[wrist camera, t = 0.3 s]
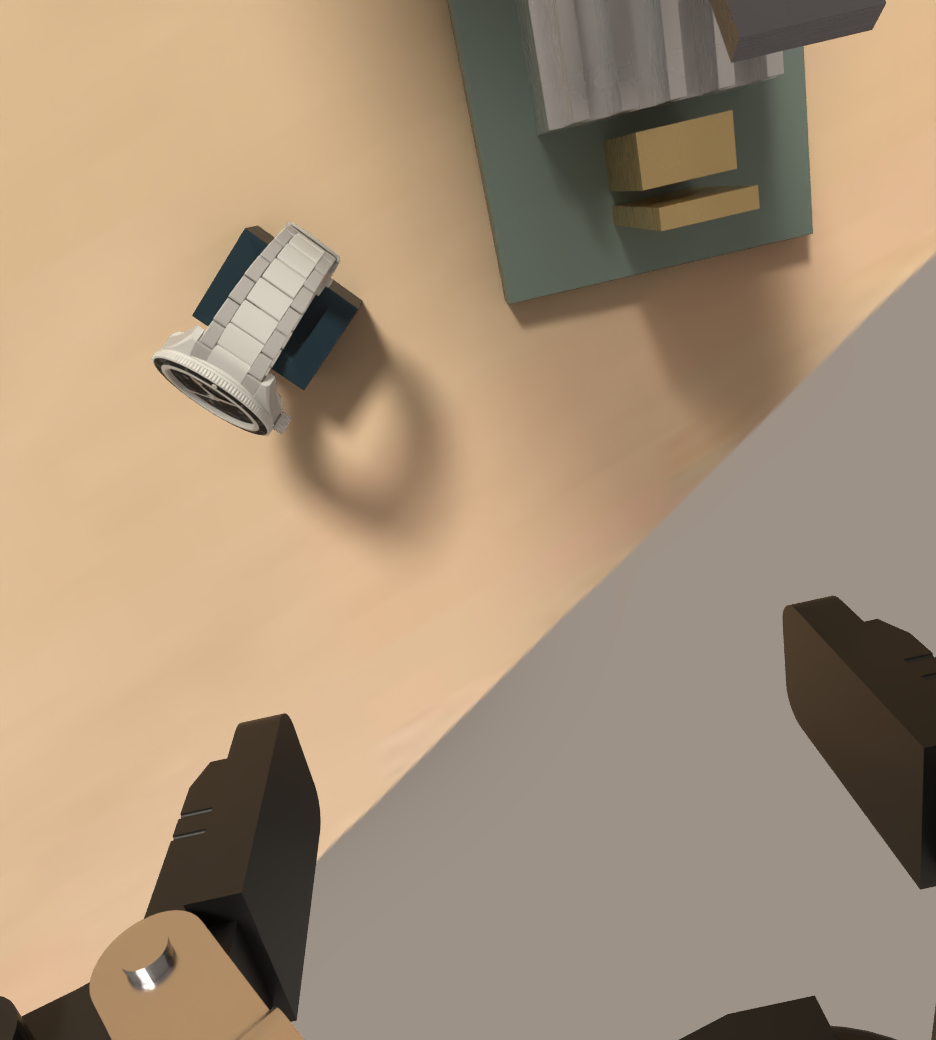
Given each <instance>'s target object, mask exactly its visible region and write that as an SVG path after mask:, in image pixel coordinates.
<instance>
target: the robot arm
mask: <svg viewBox="0 0 936 1040" xmlns="http://www.w3.org/2000/svg"><path fill="white" fill-rule="evenodd" d="M783 635H784V653H785V670H786V686H787V693H788V698H789V701H790V705H791V708H792V711H793V713H794V715H795V718H796V720H797V721H798V723H799V725H800V726H801V728H802V729H803V731H804V732H805V733H806V735H807V736H808V737H809V739H810V740H811V742H812V743H813V744H814V746H815V747H816V748H817V750H818V751H819V752H820V754H821V755H822V757H823V758H824V759H825V761H826V762H827V763H828V765H829V766H830V767H831V769H832V770H833V771H834V773H835V774H836V775H837V777H838V778H839V780H840V781H841V782H842V784H843V785H844V786H845V788H846V789H847V791H848V792H849V793H850V795H851V796H852V797H853V799H854V800H855V801H856V803H857V804H858V805H859V807H860V808H861V809H862V811H863V812H864V814H865V815H866V816H867V817H868V819H869V820H870V822H871V823H872V825H873V826H874V827H875V829H876V830H877V831H878V832H879V834H880V835H881V837H882V838H883V839H884V841H885V842H886V844H887V845H888V846H889V847H890V849H891V850H892V852H893V853H894V854H895V856H896V857H897V858H898V860H899V861H900V862H901V864H902V865H903V867H904V868H905V869H906V871H907V872H908V873H909V875H910V876H911V877H912V879H913V880H914V881H915V883H916V884H917V886H918V887H919V888H920V889H925V888H929V887H934V886H936V657H935V658H934V657H933V654H932V652H931V651H930V650H928V649H927V648H926V647H925V646H924V645H923V644H922V643H920V642H919V641H918V640H917V639H916V638H915V637H914V636H913V635H911V634H910V633H908V632H906V631H904V630H901V629H899V628H897V627H895V626H892V625H890V624H888V623H886V622H883V621H881V620H879V619H875V620H870V621H866V622H864V621H863V620H861V619H860V618H859V617H858V616H857V615H856V614H855V613H854V612H853V611H852V610H851V609H850V608H849V607H848V606H847V605H846V604H845V603H843V602H842V601H841V600H840V599H839V598H838V597H836V596H829V597H825V598H820V599H815V600H811V601H807V602H802V603H797V604H792V605H788V606H786V607H785V609H784V611H783ZM319 835H320V807H319V801H318V796H317V791H316V788H315V785H314V782H313V779H312V776H311V773H310V771H309V768H308V765H307V762H306V759H305V757H304V754H303V751H302V748H301V745H300V742H299V740H298V737H297V734H296V731H295V728H294V726H293V723H292V721H291V719H290V717H289V716H288V715H287V714H280V715H275V716H270V717H266V718H261V719H257V720H252V721H247V722H243V723H240V724H238V726H237V728H236V731H235V734H234V738H233V741H232V744H231V748H230V751H229V754H228V758H227V759H222V760H218V761H213V762H210V763H209V765H208V766H207V767H206V768H205V769H204V771H203V772H202V773H201V774H200V776H199V777H198V778H197V779H196V781H195V782H194V783H193V784H192V785H191V787H190V788H189V791H188V794H187V797H186V800H185V802H184V805H183V808H182V811H181V819H179V820H178V823H177V825H176V828H175V831H174V834H173V839H174V840H173V841H171V843H170V846H169V848H168V851H167V854H166V857H165V860H164V863H163V866H162V869H161V871H160V874H159V877H158V880H157V883H156V886H155V889H154V892H153V894H152V897H151V900H150V903H149V906H148V909H147V912H146V915H145V917H144V919H143V920H141V921H139V922H137V923H136V924H134V925H133V926H131V927H129V928H128V929H127V930H126V931H124V932H123V933H122V934H120V935H119V936H118V937H117V938H116V939H115V940H114V941H113V942H112V943H111V944H110V945H109V946H108V948H107V949H106V950H105V951H104V953H103V954H102V956H101V957H100V958H99V960H98V962H97V964H96V966H95V968H94V970H93V973H92V976H91V980H90V982H89V983H88V984H86V985H84V986H82V987H80V988H78V989H77V990H75V991H73V992H71V993H69V994H67V995H64V996H62V997H60V998H58V999H56V1000H54V1001H52V1002H50V1003H48V1004H46V1005H44V1006H42V1007H40V1008H38V1009H36V1010H34V1011H32V1012H30V1013H28V1014H26V1015H24V1016H22V1017H21V1015H20V1014H19V1012H18V1010H17V1009H16V1007H15V1006H14V1004H13V1003H12V1002H11V1001H10V1000H8V999H7V998H5V997H1V996H0V1040H304V1039H303V1037H302V1036H301V1035H300V1033H299V1032H298V1031H297V1030H296V1028H295V1027H294V1026H293V1024H292V1023H291V1021H296V1020H297V1013H298V1004H299V996H300V988H301V980H302V972H303V964H304V956H305V947H306V939H307V931H308V924H309V916H310V907H311V899H312V891H313V883H314V875H315V866H316V859H317V851H318V843H319ZM680 1040H896V1039H893V1038H891V1037H887V1036H883V1035H879V1034H876V1033H873V1032H869V1031H865V1030H859V1029H853V1028H847V1027H837V1026H830V1025H829V1023H828V1021H827V1019H826V1017H825V1015H824V1013H823V1011H822V1009H821V1007H820V1005H819V1003H818V1001H817V1000H816V997H815V996H811V997H806V998H801V999H797V1000H792V1001H787V1002H783V1003H778V1004H773V1005H769V1006H764V1007H759V1008H754V1009H750V1010H745V1011H740V1012H736V1013H731V1014H727V1015H725V1016H723V1017H721V1018H720V1019H718V1020H716V1021H714V1022H712V1023H710V1024H708V1025H706V1026H704V1027H702V1028H700V1029H699V1030H697V1031H695V1032H693V1033H691V1034H689V1035H687V1036H685V1037H683V1038H681V1039H680ZM931 1040H936V1007H935V1014H934V1022H933V1030H932V1038H931Z"/></svg>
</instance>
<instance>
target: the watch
mask: <svg viewBox="0 0 936 1040" xmlns="http://www.w3.org/2000/svg"><path fill="white" fill-rule="evenodd" d="M339 262H340V257H339V256H338V255H337V254H336V253H334V252H333V251H332V250H331V249H329V248H328V247H327V246H325V245H324V244H323V243H321V242H320V241H319V240H317V239H316V238H315V237H313V236H312V235H310V234H309V233H308V232H306V231H305V230H303V229H302V228H300V227H299V226H297V225H296V224H294V223H293V222H287V224H286V226H285V227H284V229H283V230H282V231H281V232H280V233H279V234H278V235H277V236H276V237H275V238H274V237H273V236H272V235H270V234H269V233H267V232H266V231H265V230H263V229H262V228H260V227H259V226H254V227H249V228H245V229H244V231H243V233H242V234H241V236H240V238H239V239H238V241H237V242H236V244H235V246H234V247H233V249H232V251H231V252H230V254H229V256H228V257H227V259H226V261H225V262H224V264H223V266H222V267H221V269H220V270H219V272H218V274H217V275H216V277H215V279H214V280H213V282H212V284H211V285H210V287H209V289H208V290H207V292H206V294H205V295H204V297H203V298H202V300H201V302H200V303H199V305H198V307H197V308H196V310H195V312H194V313H193V315H192V316H193V317H195V318H196V319H198V320H199V321H201V322H202V323H204V324H205V325H207V326H208V328H207V330H206V331H205V333H204V329H203V328H201V327H200V326H198V325H197V326H194V327H192V328H191V329H189V330H188V331H186V332H183V331H179V332H176V333H174V334H172V335H171V336H170V337H169V338H168V340H167V341H166V343H165V344H164V345H163V347H162V348H161V350H160V351H157V352H156V353H155V354H154V356H153V357H152V361H153V363H154V365H155V366H156V368H157V369H158V370H159V372H160V373H161V374H162V375H163V376H164V377H165V378H166V379H167V380H168V381H169V382H170V383H171V384H172V385H174V386H175V387H176V388H177V389H178V390H180V391H181V392H182V393H184V394H185V395H186V396H188V397H189V398H190V399H192V400H193V401H194V402H196V403H197V404H199V405H200V406H202V407H203V408H205V409H206V410H208V411H210V412H211V413H213V414H214V415H216V416H218V417H220V418H221V419H223V420H225V421H227V422H229V423H230V424H232V425H234V426H236V427H239V428H241V429H243V430H245V431H248V432H251V433H254V434H258V435H265V436H266V435H269V434H270V433H271V431H272V430H273V429H274V430H276V431H277V432H279V433H281V434H282V433H283V432H284V431H285V429H286V428H287V427H288V425H289V423H290V421H291V419H292V417H291V416H290V415H288V414H287V413H285V412H283V413H282V414H281V412H282V410H283V400H282V398H281V396H280V395H279V393H278V392H277V390H276V384H277V380H276V377H275V376H273V375H272V374H270V373H269V371H270V369H273V370H274V371H276V372H277V373H279V374H280V375H282V376H283V377H285V378H286V379H288V380H289V381H291V382H292V383H294V384H295V385H297V386H298V387H300V388H301V389H303V390H305V388H306V387H307V385H308V384H309V382H310V381H311V379H312V378H313V376H314V375H315V373H316V372H317V370H318V369H319V367H320V366H321V364H322V363H323V361H324V360H325V358H326V357H327V355H328V354H329V352H330V351H331V349H332V348H333V346H334V345H335V343H336V342H337V340H338V339H339V337H340V336H341V334H342V333H343V331H344V330H345V328H346V327H347V325H348V324H349V322H350V321H351V319H352V318H353V316H354V315H355V313H356V312H357V310H358V309H359V306H360V304H361V302H362V300H361V299H359V298H358V297H356V296H355V295H354V294H352V293H351V292H350V291H348V290H347V289H345V288H344V287H343V286H341V285H340V284H338V283H337V282H336V281H334V280H333V279H331V276H332V275H333V273H334V271H335V269H336V268H337V266H338V264H339ZM203 333H204V334H203ZM273 424H274V426H273Z"/></svg>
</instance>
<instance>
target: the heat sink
mask: <svg viewBox="0 0 936 1040" xmlns="http://www.w3.org/2000/svg"><path fill="white" fill-rule="evenodd" d="M515 5H516V11H517V17H518V23H519V29H520V35H521V41H522V47H523V53H524V59H525V65H526V71H527V77H528V83H529V89H530V95H531V101H532V107H533V114H534V120H535V126H536V132H537V136H539V135H544V134H548V133H552V132H556V131H561V130H565V129H569V128H573V127H578V126H582V125H586V124H591V123H595V122H599V121H603V120H608V119H612V118H616V117H620V116H625V115H629V114H633V113H637V112H642V111H646V110H650V109H654V108H659V107H663V106H667V105H671V104H676V103H680V102H684V101H688V100H693V99H697V98H701V97H705V96H710V95H714V94H718V93H722V92H727V91H731V90H735V89H739V88H744V87H748V86H751V85H754V84H757V83H760V82H763V81H766V80H769V79H772V78H776V77H777V75H780V74H784V64H783V51H780V52H776V53H771V54H767V55H763V56H759V57H754V58H750V59H746V60H742V61H737V62H733V63H731V61H730V58H729V55H728V53H727V50H726V47H725V44H724V41H723V38H722V35H721V32H720V30H719V27H718V24H717V21H716V18H715V15H714V12H713V10H712V7H711V4H710V1H709V0H515Z"/></svg>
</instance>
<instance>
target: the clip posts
mask: <svg viewBox="0 0 936 1040" xmlns="http://www.w3.org/2000/svg"><path fill="white" fill-rule="evenodd" d="M603 148H604V155H605V162H606V169H607V176H608V184H609V191H643V190H647V189H652V188H656V187H660V186H665V185H669V184H673V183H677V182H682V181H686V180H690V179H694V178H699V177H703V176H707V175H712V174H716V173H720V172H724V171H729V170H733V169H737V159H736V147H735V135H734V122H733V110H730V111H726V112H721V113H717V114H713V115H709V116H704V117H700V118H696V119H692V120H687V121H683V122H679V123H674V124H670V125H666V126H662V127H657V128H653V129H649V130H645V131H640V132H636V133H632V134H629V135H625V136H622V137H618V138H615V139H611V140H607V141H604V142H603ZM755 209H760V205H759V192H758V185H739V186H710V187H691V188H686V189H682V190H678V191H673V192H669V193H665V194H661V195H656V196H652V197H648V198H644V199H639V200H635V201H631V202H626V203H622V204H618V205H614V206H612V213H613V220H614V225H618V226H625V227H633V228H640V229H648V230H655V231H665V230H669V229H674V228H678V227H682V226H687V225H691V224H695V223H699V222H704V221H708V220H712V219H717V218H721V217H725V216H729V215H734V214H738V213H742V212H747V211H751V210H755Z"/></svg>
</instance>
